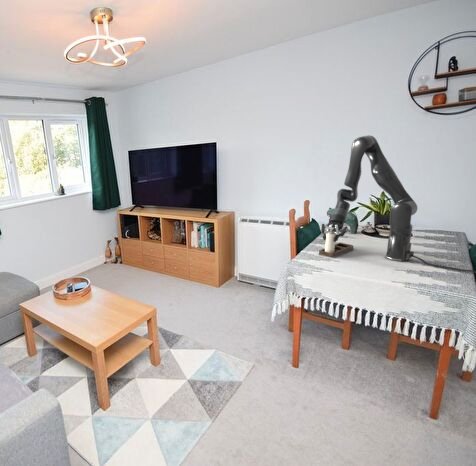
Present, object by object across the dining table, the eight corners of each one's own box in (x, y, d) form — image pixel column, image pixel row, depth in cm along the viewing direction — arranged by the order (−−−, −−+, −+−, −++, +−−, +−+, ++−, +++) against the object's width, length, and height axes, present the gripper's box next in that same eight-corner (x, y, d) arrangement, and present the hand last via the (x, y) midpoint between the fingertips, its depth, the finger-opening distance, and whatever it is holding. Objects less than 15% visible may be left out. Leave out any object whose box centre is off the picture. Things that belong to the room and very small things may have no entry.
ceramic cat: (324, 230, 237) (326, 205, 232) (328, 228, 241) (330, 203, 235) (355, 234, 221) (358, 207, 216) (358, 232, 225) (361, 205, 220)
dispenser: (336, 252, 188) (338, 227, 184) (331, 254, 186) (333, 228, 182) (327, 250, 192) (329, 225, 188) (322, 252, 190) (324, 227, 186)
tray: (353, 249, 194) (353, 245, 194) (332, 258, 184) (332, 253, 184) (339, 246, 201) (339, 242, 200) (318, 254, 191) (319, 250, 190)
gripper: (324, 212, 193) (314, 235, 189) (351, 214, 182) (341, 239, 178) (326, 218, 198) (317, 241, 194) (353, 221, 187) (344, 245, 183)
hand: (329, 240), depth 186 cm, fingers closed on dispenser, 5 cm apart
